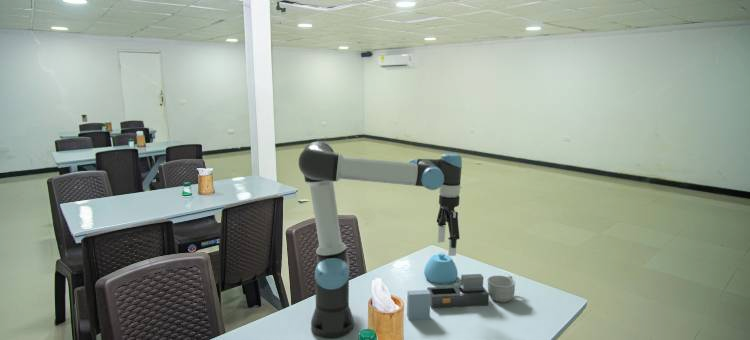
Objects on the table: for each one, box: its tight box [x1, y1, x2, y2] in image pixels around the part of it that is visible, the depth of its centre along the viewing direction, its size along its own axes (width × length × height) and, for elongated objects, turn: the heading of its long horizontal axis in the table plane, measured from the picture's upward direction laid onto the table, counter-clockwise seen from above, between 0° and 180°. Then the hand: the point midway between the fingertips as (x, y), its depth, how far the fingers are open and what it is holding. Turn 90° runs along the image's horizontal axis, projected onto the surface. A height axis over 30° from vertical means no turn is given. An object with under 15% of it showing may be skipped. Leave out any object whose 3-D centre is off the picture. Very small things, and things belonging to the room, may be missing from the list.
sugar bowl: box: [423, 252, 459, 285], centre depth 185 cm, size 15×15×12 cm
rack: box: [426, 273, 490, 310], centre depth 163 cm, size 23×8×11 cm, turn 97°
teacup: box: [487, 275, 516, 303], centre depth 168 cm, size 14×11×8 cm
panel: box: [406, 289, 431, 321], centre depth 152 cm, size 8×3×10 cm, turn 97°
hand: (446, 248), depth 158 cm, fingers open, 13 cm apart
